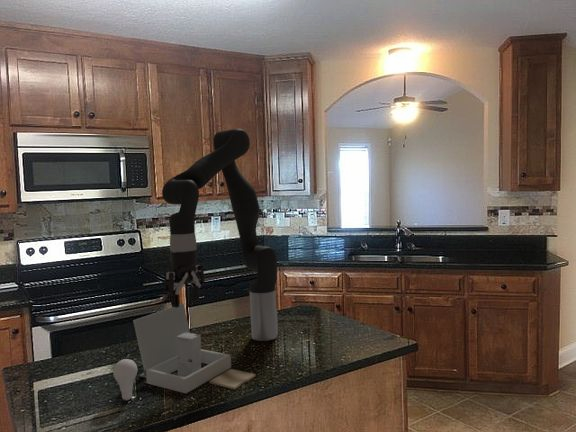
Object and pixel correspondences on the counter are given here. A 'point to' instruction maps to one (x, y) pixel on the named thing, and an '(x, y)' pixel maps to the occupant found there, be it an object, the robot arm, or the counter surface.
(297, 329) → the counter surface
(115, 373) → the lightbulb
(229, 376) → the mat
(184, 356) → the skincare box
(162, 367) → the case
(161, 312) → the lid
